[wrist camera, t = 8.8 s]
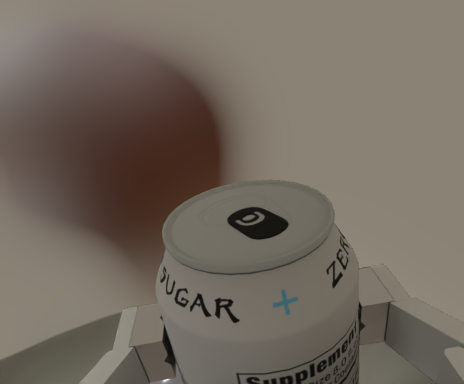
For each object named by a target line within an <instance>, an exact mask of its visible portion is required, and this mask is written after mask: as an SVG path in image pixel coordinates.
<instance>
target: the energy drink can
mask: <svg viewBox="0 0 464 384" xmlns="http://www.w3.org/2000/svg"><path fill="white" fill-rule="evenodd" d="M162 236H163V242H164V245H165V247H166V249H165V252H164V255H163V258H162V261H161V264H160V267H159V270H158V275H157V280H156V285H155V289H156V298H157V302H158V305H159V308H160V312H161V315H162V318H163V321H164V324H165V327H166V331H167V334H168V337H169V340H170V343H171V346H172V350H173V353H174V356H175V359H176V362H177V366H178V369H179V372H180V375H181V378H182V381H183V384H359V265H358V261H357V258H356V255H355V253H354V250H353V248H352V247H351V245H350V244H349V243H348V241H347V240H346V239H345V237H344V236H343V234H342V233H341V232H340V230H339V229H338V228H337V226H336V225H335V223H334V209H333V206H332V203H331V202H330V201H329V200H328V198H327V197H326V196H325V195H324V194H322V193H321V192H319V191H318V190H316V189H313V188H311V187H309V186H306V185H303V184H299V183H295V182H288V181H280V180H255V181H245V182H239V183H233V184H229V185H225V186H221V187H218V188H214V189H212V190H209V191H206V192H204V193H201V194H199V195H197V196H195V197H193V198H191V199H189V200H187V201H186V202H184V203H183V204H181V205H180V206H179V207H177V208H176V209H175V210H174V211H173V212H172V213H171V214H170V215H169V216H168V218H167V220H166V222H165V223H164V226H163V230H162Z"/></svg>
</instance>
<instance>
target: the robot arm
mask: <svg viewBox="0 0 464 384" xmlns="http://www.w3.org/2000/svg"><path fill="white" fill-rule="evenodd" d="M379 342H385V343H386V344H387V345H388V346H390V347H391V348H392V349H393V350H395V351H396V352H397V353H398V354H400V355H401V356H402V357H404V358H405V359H406V360H407V361H409V362H410V363H411V364H412V365H414V366H415V367H416V368H418V369H419V370H420V371H421V372H423V373H424V374H425V375H427V376H428V377H429V378H430V379H432V380H433V381H434V382H435V383H436V384H464V323H463V322H461V321H459V320H458V319H456V318H453V317H452V316H450V315H448V314H446V313H444V312H442V311H440V310H438V309H436V308H434V307H432V306H430V305H428V304H426V303H424V302H423V301H420V300H418V299H417V298H412V299H411V298H410V296H409V295H408V294H407V292H406V291H405V290H404V289H403V287H402V286H401V285H400V283H399V282H398V281H397V279H396V278H395V277H394V275H393V274H392V273H391V271H390V270H389V269H388V268H387V266H386V265H384V264H380V265H375V266H370V267H363V268H359V345H365V344H372V343H379ZM176 363H177V362H176V359H175V356H174V353H173V350H172V346H171V343H170V340H169V337H168V334H167V331H166V327H165V324H164V321H163V318H162V315H161V312H160V308H159V305H158V303H155V304H148V305H141V306H136V307H129V308H125V309H124V310H123V311H122V314H121V318H120V322H119V326H118V329H117V333H116V337H115V341H114V345H113V349H112V351H108V352H107V353H106V354H105V355H104V356H103V357H102V358H101V359H100V361H99V362H98V363H97V364H96V365H95V366H94V367H93V368H92V369H91V371H90V372H89V373H88V374H87V375H86V376H85V377H84V378H83V380H82V381H81V382H80V383H79V384H150V383H151V382H156V381H161V380H166V379H171V378H176Z"/></svg>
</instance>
